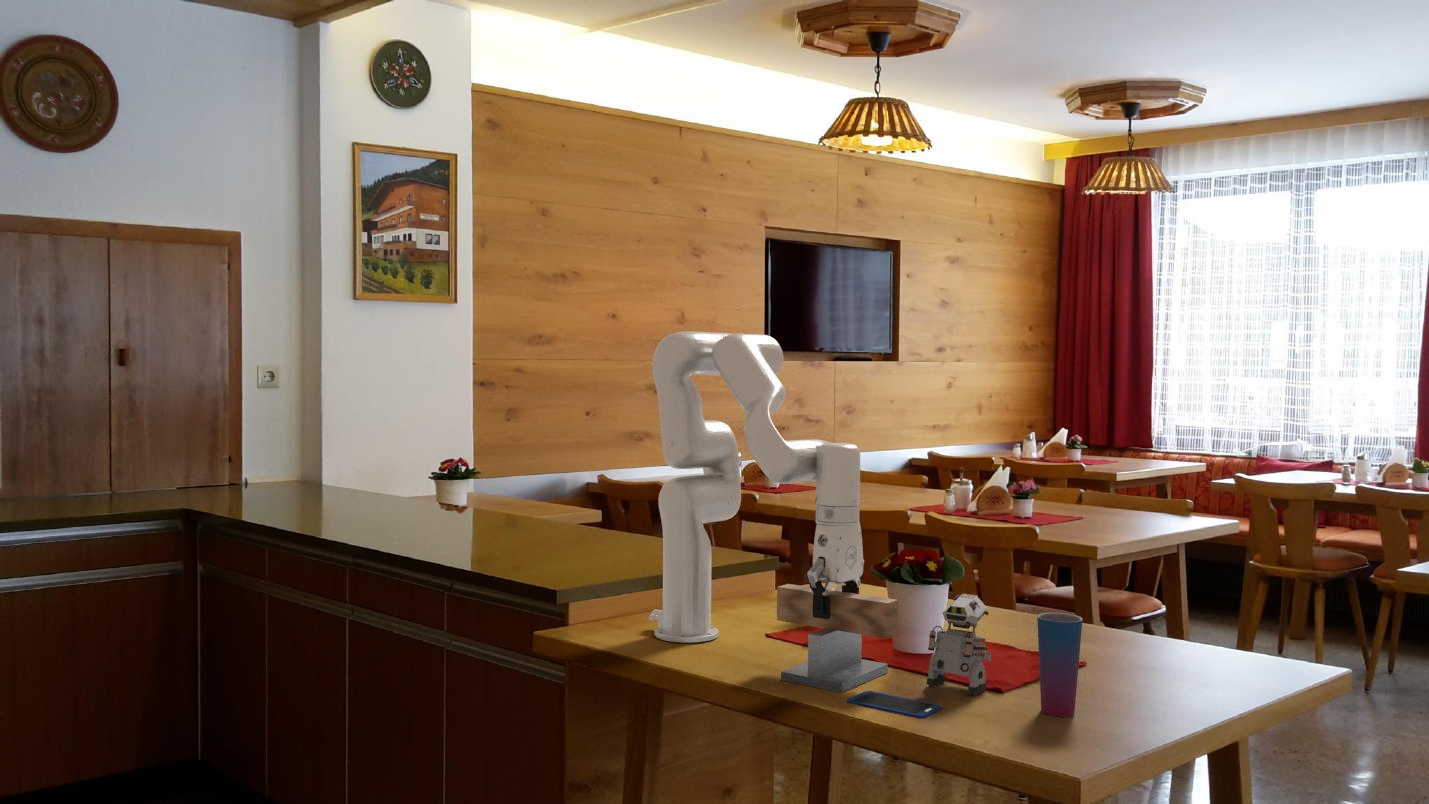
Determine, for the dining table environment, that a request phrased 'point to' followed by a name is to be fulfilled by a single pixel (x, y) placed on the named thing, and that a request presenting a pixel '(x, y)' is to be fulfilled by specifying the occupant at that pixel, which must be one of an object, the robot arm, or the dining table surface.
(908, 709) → the cell phone
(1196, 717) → the dining table surface
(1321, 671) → the dining table surface
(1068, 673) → the cup
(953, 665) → the figurine
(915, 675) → the dining table surface
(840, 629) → the wooden block
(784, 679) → the ridge stand
